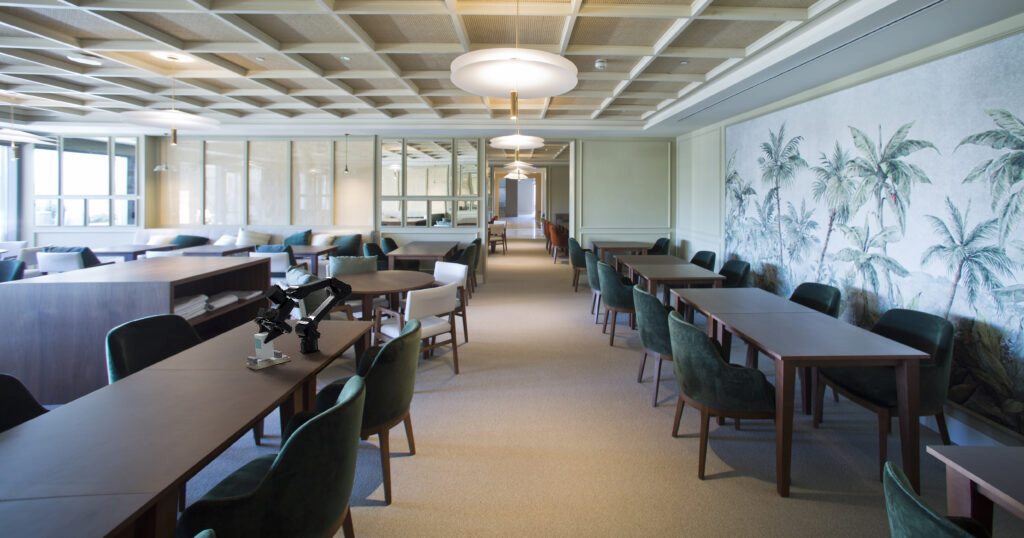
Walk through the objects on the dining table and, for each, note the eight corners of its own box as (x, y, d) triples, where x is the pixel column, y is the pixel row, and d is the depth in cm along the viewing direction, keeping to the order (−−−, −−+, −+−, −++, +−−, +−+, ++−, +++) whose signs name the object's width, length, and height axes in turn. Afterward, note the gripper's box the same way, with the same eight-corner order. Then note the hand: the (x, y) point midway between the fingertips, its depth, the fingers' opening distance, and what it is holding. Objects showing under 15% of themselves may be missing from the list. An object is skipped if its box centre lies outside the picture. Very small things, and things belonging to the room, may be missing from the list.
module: (267, 355, 215) (265, 331, 213) (274, 356, 212) (272, 333, 211) (255, 358, 210) (253, 334, 209) (262, 360, 208) (260, 336, 207)
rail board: (280, 357, 221) (280, 347, 221) (290, 360, 217) (289, 350, 217) (245, 366, 209) (245, 356, 209) (255, 369, 205) (254, 359, 204)
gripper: (256, 298, 217) (232, 329, 209) (283, 302, 207) (260, 335, 199) (274, 312, 224) (252, 343, 216) (302, 317, 215) (280, 349, 207)
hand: (260, 342), depth 209 cm, fingers closed on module, 4 cm apart
